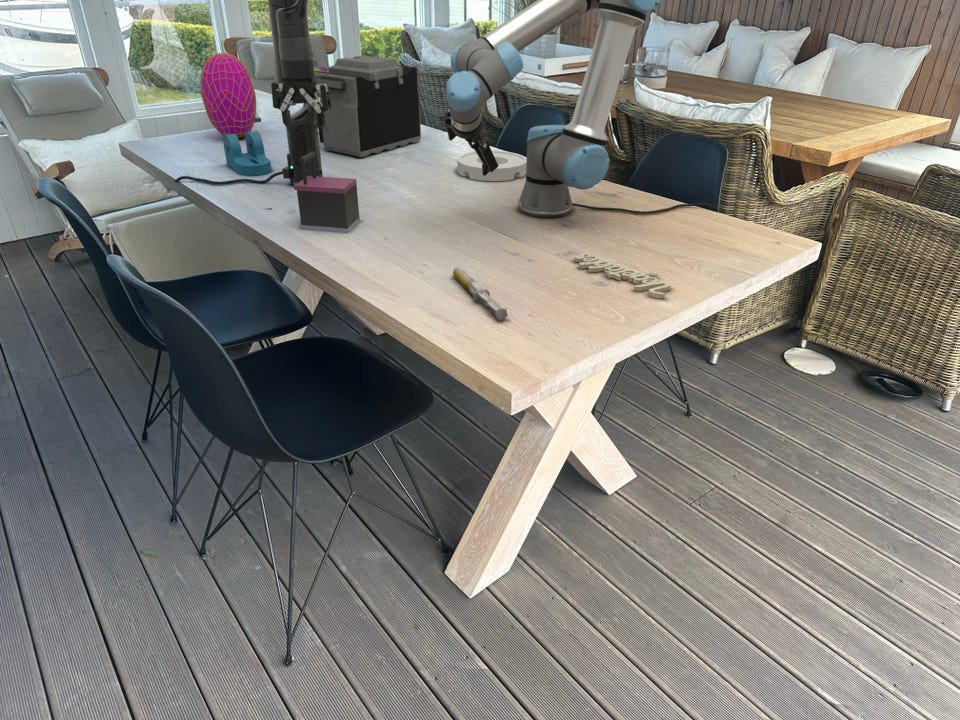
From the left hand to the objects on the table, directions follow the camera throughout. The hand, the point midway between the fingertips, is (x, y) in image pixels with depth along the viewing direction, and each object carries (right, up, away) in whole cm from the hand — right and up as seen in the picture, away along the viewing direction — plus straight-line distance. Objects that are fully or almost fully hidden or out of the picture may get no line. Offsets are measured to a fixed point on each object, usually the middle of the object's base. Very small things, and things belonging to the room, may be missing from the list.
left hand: (304, 127), depth 171 cm
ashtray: (+48, +5, +58) cm, 75 cm away
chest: (+4, -22, +12) cm, 25 cm away
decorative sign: (+76, -39, -15) cm, 87 cm away
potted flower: (-24, +44, +122) cm, 132 cm away
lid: (+4, -13, +7) cm, 15 cm away
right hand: (+41, -2, +15) cm, 44 cm away
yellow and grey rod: (+43, -45, -26) cm, 68 cm away
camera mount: (-33, +6, +58) cm, 67 cm away
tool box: (+3, +23, +87) cm, 90 cm away
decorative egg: (-51, +28, +96) cm, 113 cm away
